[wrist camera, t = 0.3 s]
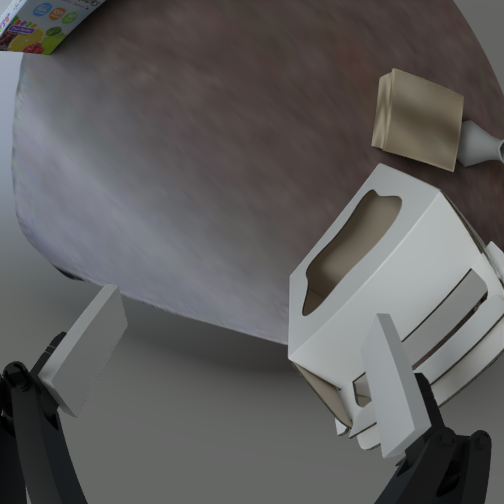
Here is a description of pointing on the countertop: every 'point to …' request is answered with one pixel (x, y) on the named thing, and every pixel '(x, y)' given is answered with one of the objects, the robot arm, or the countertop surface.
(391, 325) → the robot arm
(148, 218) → the countertop surface
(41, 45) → the snack box
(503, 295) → the gable box
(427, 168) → the countertop surface
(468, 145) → the flask
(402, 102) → the beech box
